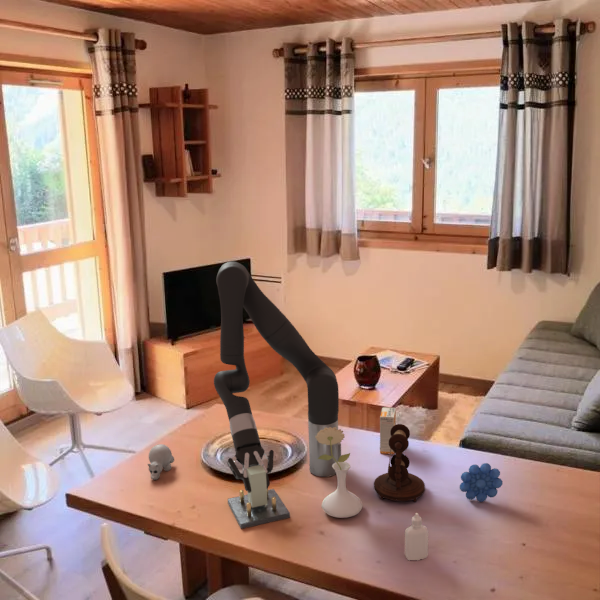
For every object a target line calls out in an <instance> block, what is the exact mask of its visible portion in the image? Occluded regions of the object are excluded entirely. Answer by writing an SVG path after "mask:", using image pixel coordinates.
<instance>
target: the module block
mask: <svg viewBox="0 0 600 600" xmlns="http://www.w3.org/2000/svg"><path fill="white" fill-rule="evenodd" d="M247 473H248V478H249V482H250V486H251V492H250V493H248V491H246V492H247V494H248V501H249V502H250V503H251V506H252V508H253V507H257V506H262V505H266V504H267V484H266V471H265V470H264V468H263V467H262V466H260V465H257V466H252V467H248V468H247Z"/></svg>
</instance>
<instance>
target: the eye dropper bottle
mask: <svg viewBox="0 0 600 600" xmlns="http://www.w3.org/2000/svg"><path fill="white" fill-rule="evenodd" d="M422 519H423V518H422V517H421V516H420V515H419V513H418V512H415V514H414V516H412V517H411V525H409V526H408V527H407V528H405V531H404V557H405V558H406V559H407V561H410V560H417V561H421V560H420V559H422V560H424V559H426V558H427V557H428V555H429V530H428V528H427V526H425V525H423V524H422V523H423V522H422Z"/></svg>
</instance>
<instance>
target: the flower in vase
mask: <svg viewBox="0 0 600 600" xmlns="http://www.w3.org/2000/svg"><path fill="white" fill-rule="evenodd" d="M343 432H344V431H343V430H342V429H340V428H338V430H336V427H334V428H331V427H329V428H324V430H320V431H319V432H318V433H317V436H315V438H316V440H317V441H318V442H319V443H321V444H326V445H330V446H331V455H332V445H333V444H337V443H342V442H343V441H344V439H345V434H344V433H343ZM350 456H351V453H350V452H349V453H346V454H345V453H344V454H341V456H340V458H339V459H338V462H337V461H336V459H335V458H334V457H333V455H332V456H330V455H326V454H325V455H321V456H320V457H319V458H318V459H322V460H330V459H331V458H332V457H333V459H334V460H335V461H336V463H334V464H333V465H332V467H333V469H334V470H335V472H336V474H335V475H336V478H337V488H336V489H335V490H334V491H333V492H331V493H330V494H328V495H327V496H325V497H324V499H323V501H322V502H321V509H322V510H323V512H324V513H325V514H327V515H328V516H331V517H334V518H341V519H343V518H344V519H345V518H351V517H354V516H356V515H358V514H359V513H360V512H361V511H362V509H363V502H362V499H360V497H358V496H357V495H356V494H354V493H353V492H351V491H349V490H348V488H347V487H346V486H347V483H346V481H347V475H348V471H349V470H350V468H351V464H350V463H349V462H346V461H347V460H348V459H349V458H350Z"/></svg>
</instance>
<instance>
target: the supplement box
mask: <svg viewBox="0 0 600 600" xmlns="http://www.w3.org/2000/svg"><path fill="white" fill-rule="evenodd" d="M396 411H397V408H396V407H382V408H381V411H380V416H379V454H382V455H383V454H385V455H386V454H387V455H390V446H389V439H390V437H391V434H390V431H391V428H392V427H393V426H394V425H396V423H397V412H396ZM394 454H395V453H394V451H393V450H392V449H391V455H394Z"/></svg>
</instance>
